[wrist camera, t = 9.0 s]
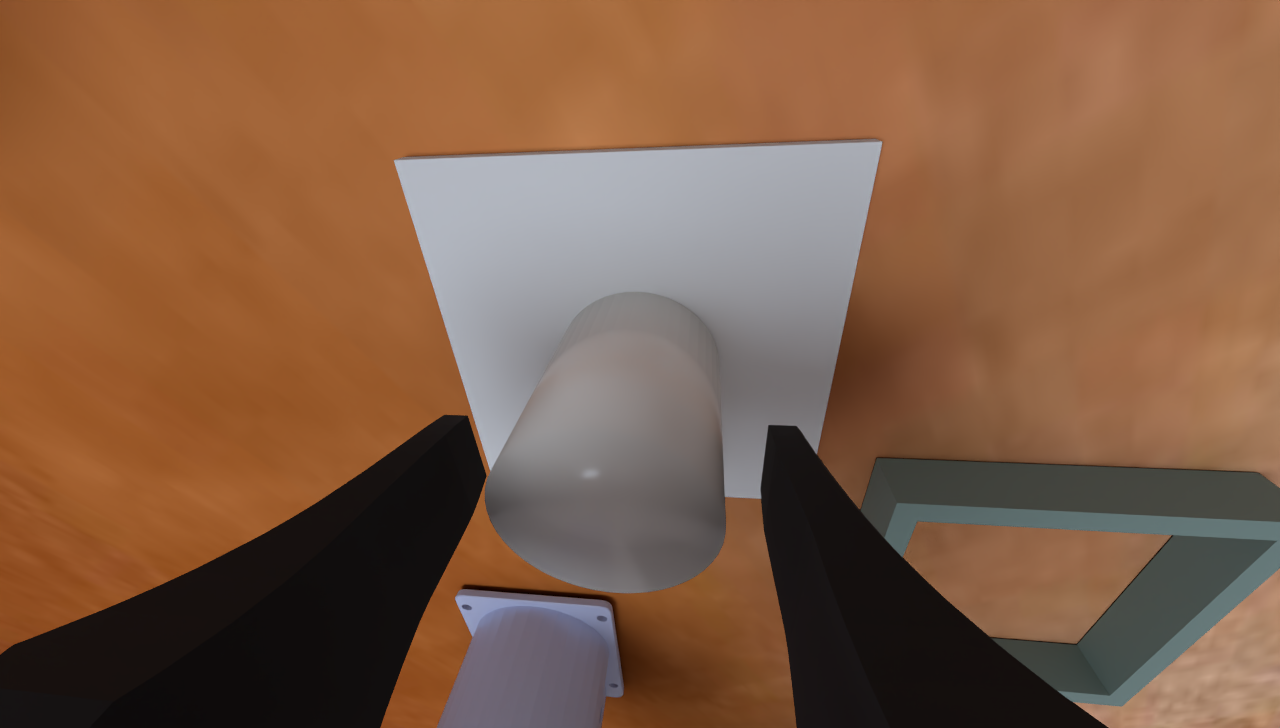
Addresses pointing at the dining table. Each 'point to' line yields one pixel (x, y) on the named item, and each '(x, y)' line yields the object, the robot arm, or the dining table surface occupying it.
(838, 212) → the mat
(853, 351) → the dining table surface
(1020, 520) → the holder
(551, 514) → the jug
